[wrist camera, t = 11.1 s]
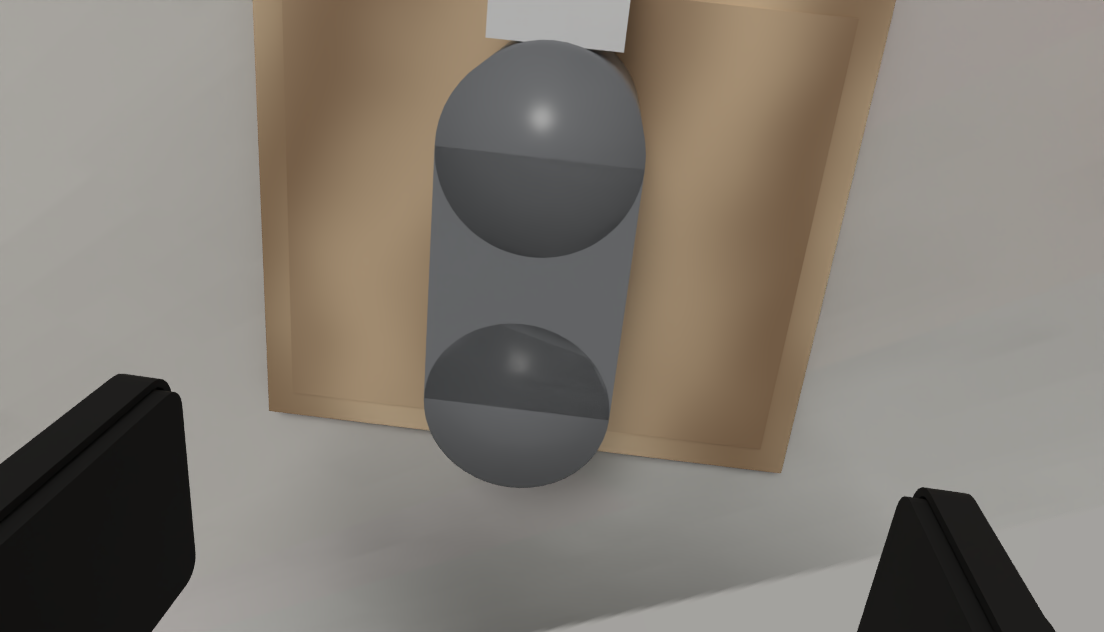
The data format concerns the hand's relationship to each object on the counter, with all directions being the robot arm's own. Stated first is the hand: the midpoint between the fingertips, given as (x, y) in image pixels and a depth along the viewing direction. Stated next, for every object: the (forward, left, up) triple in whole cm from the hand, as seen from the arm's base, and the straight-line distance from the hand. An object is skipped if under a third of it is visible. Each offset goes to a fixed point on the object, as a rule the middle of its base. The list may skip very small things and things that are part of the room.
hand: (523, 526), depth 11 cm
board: (+1, 0, -14) cm, 14 cm away
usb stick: (+1, -1, -13) cm, 13 cm away
